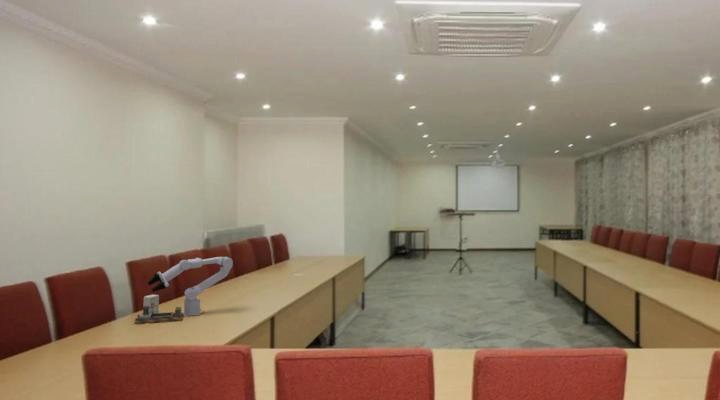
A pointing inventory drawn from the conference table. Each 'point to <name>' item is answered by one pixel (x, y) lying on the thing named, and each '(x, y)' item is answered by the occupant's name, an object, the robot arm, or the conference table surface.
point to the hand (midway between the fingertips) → (150, 287)
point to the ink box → (152, 303)
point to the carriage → (146, 312)
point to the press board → (161, 317)
